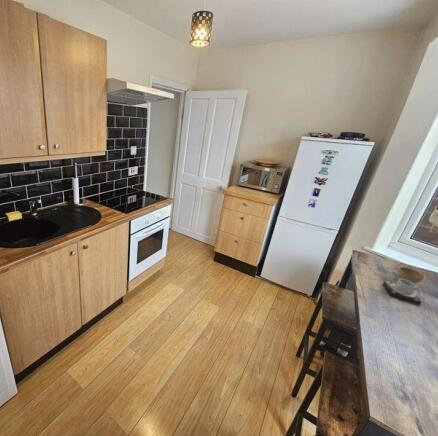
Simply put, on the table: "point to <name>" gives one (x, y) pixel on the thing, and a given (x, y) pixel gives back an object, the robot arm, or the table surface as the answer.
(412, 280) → the flower pot
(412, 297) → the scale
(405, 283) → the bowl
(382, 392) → the table surface
